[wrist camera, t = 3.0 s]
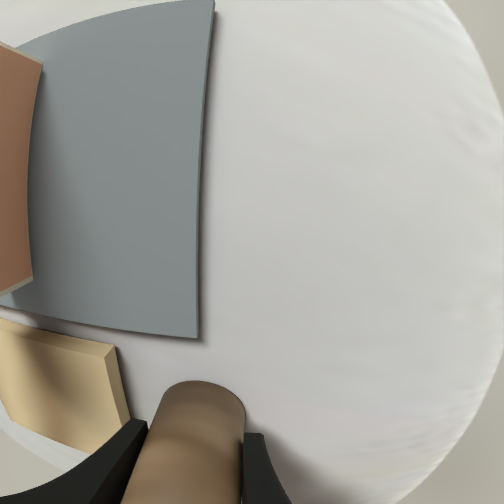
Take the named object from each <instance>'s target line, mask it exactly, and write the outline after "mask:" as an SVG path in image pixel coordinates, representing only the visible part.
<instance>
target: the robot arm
mask: <svg viewBox="0 0 504 504" xmlns="http://www.w3.org/2000/svg"><path fill="white" fill-rule="evenodd" d="M148 431H149V430H148V426H147V422H146V421H144V420H139V419H134V418H131V419H130V420H129V421H128V422H127V423H125V424H124V425H123V426H122V427H121V428H120V429H119V430H118V431H117V432H116V433H115V434H114V435H113V436H112V437H111V438H110V439H109V440H108V441H107V442H106V443H104V444H103V445H102V446H101V447H100V448H99V449H98V450H97V451H95V452H94V453H93V454H92V455H90V456H89V457H88V458H86V459H85V460H84V461H83V462H81V463H80V464H78V465H77V466H76V467H74V468H73V469H71V470H70V471H68V472H66V473H65V474H63V475H61V476H59V477H57V478H56V479H54V480H52V481H50V482H48V483H45V484H43V485H41V486H38V487H36V488H33V489H30V490H27V491H24V492H21V493H17V494H13V495H8V496H3V497H0V504H121V501H122V498H123V496H124V493H125V490H126V488H127V485H128V482H129V480H130V477H131V475H132V472H133V469H134V467H135V464H136V462H137V459H138V456H139V454H140V451H141V449H142V446H143V444H144V441H145V439H146V436H147V434H148ZM242 504H292V503H291V501H290V500H289V498H288V496H287V495H286V493H285V491H284V489H283V488H282V486H281V484H280V482H279V480H278V477H277V475H276V473H275V471H274V469H273V466H272V464H271V461H270V458H269V456H268V453H267V449H266V446H265V441H264V435H262V434H261V433H244V436H243V457H242Z"/></svg>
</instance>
